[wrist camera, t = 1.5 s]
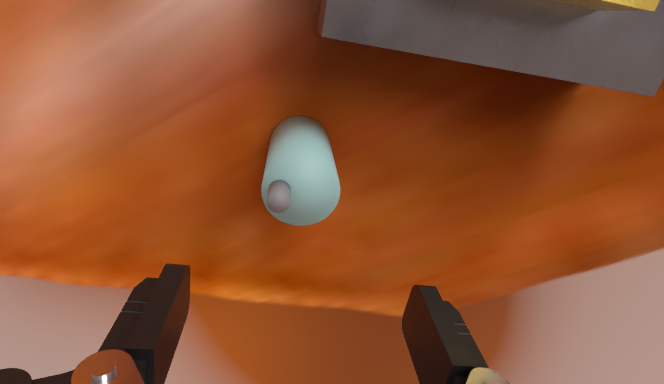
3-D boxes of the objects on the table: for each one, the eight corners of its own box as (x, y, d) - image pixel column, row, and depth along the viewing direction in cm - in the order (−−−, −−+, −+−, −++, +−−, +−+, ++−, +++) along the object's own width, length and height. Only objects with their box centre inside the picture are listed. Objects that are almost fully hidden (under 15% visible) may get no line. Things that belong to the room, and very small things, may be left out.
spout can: (333, 120, 28) (350, 172, 19) (324, 175, 30) (335, 244, 21) (273, 111, 27) (262, 160, 19) (267, 168, 29) (255, 236, 20)
